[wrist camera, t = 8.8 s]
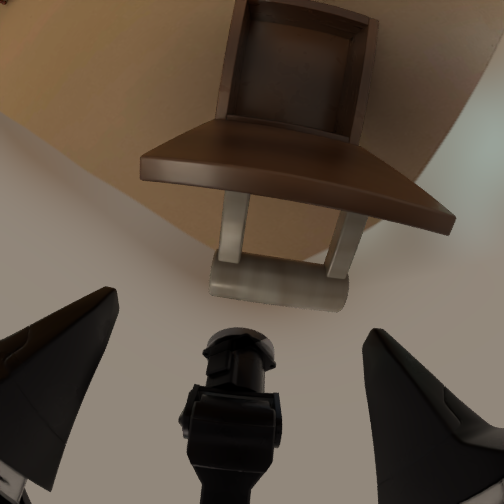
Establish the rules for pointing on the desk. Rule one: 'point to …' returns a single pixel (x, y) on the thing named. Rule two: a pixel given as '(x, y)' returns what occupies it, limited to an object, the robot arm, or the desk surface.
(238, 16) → the chest
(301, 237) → the desk surface
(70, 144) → the desk surface
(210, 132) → the lid
